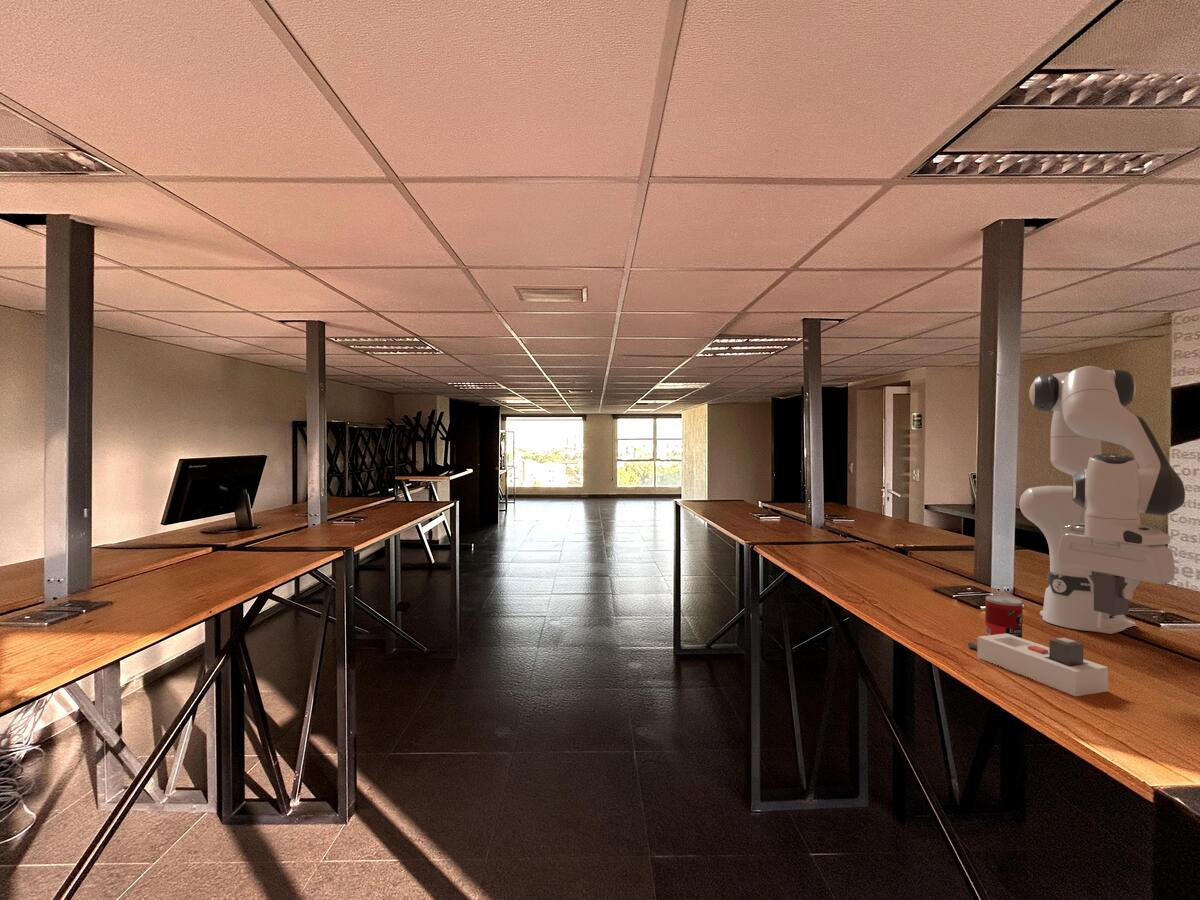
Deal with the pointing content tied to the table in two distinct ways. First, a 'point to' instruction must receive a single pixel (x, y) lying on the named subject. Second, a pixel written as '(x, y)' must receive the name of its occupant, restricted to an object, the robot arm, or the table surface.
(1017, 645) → the pdu strip
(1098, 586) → the plug
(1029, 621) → the table surface
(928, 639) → the table surface
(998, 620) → the canned food
